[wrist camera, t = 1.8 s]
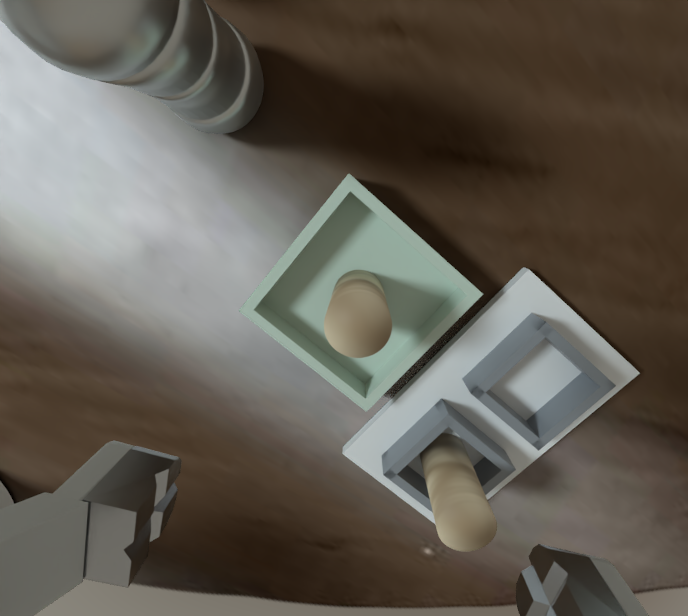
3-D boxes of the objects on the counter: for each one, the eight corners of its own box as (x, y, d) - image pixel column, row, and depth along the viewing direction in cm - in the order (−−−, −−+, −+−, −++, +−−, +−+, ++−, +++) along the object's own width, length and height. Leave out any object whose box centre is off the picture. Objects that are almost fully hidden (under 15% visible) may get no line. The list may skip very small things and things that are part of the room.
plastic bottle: (288, 72, 27) (100, -268, 7) (242, 158, 28) (-7, 62, 9) (208, 16, 26) (-228, -520, 7) (166, 107, 28) (-279, -113, 8)
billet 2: (442, 479, 34) (466, 560, 26) (410, 454, 33) (424, 529, 26) (475, 451, 33) (509, 526, 25) (442, 424, 33) (467, 493, 25)
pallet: (445, 524, 37) (453, 557, 33) (343, 446, 35) (340, 472, 31) (631, 367, 31) (664, 387, 28) (523, 267, 30) (544, 275, 26)
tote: (365, 390, 33) (366, 411, 30) (251, 299, 31) (238, 310, 28) (469, 284, 30) (483, 294, 27) (350, 176, 28) (348, 173, 25)
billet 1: (361, 328, 30) (361, 370, 23) (323, 297, 30) (309, 329, 22) (394, 292, 30) (406, 323, 22) (356, 259, 29) (354, 279, 21)
